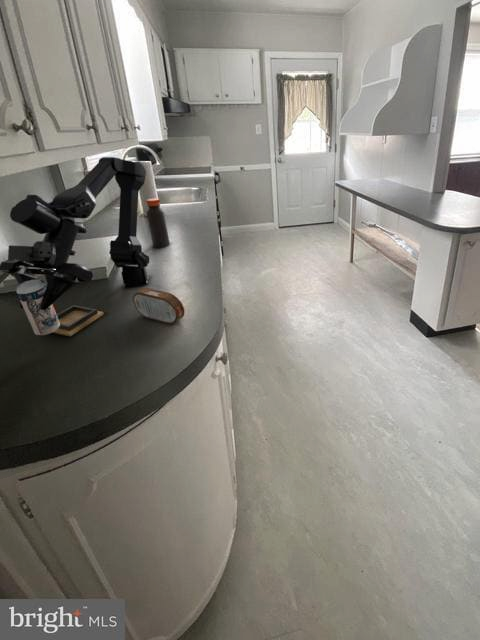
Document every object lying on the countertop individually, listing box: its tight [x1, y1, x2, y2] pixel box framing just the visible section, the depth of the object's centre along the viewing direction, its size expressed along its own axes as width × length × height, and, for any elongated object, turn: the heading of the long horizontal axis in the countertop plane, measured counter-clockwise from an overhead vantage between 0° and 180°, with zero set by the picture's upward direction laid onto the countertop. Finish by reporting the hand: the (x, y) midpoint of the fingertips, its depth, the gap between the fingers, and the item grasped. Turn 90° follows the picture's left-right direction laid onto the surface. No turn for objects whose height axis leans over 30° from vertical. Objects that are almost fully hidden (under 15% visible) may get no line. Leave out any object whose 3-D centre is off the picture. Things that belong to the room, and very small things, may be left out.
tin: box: [132, 286, 185, 325], centre depth 79 cm, size 15×3×8 cm, turn 68°
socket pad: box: [52, 304, 105, 337], centre depth 80 cm, size 10×10×2 cm
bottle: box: [146, 197, 170, 248], centre depth 128 cm, size 7×7×20 cm
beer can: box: [16, 279, 60, 336], centre depth 66 cm, size 5×5×12 cm
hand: (32, 309), depth 65 cm, fingers closed on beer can, 5 cm apart
